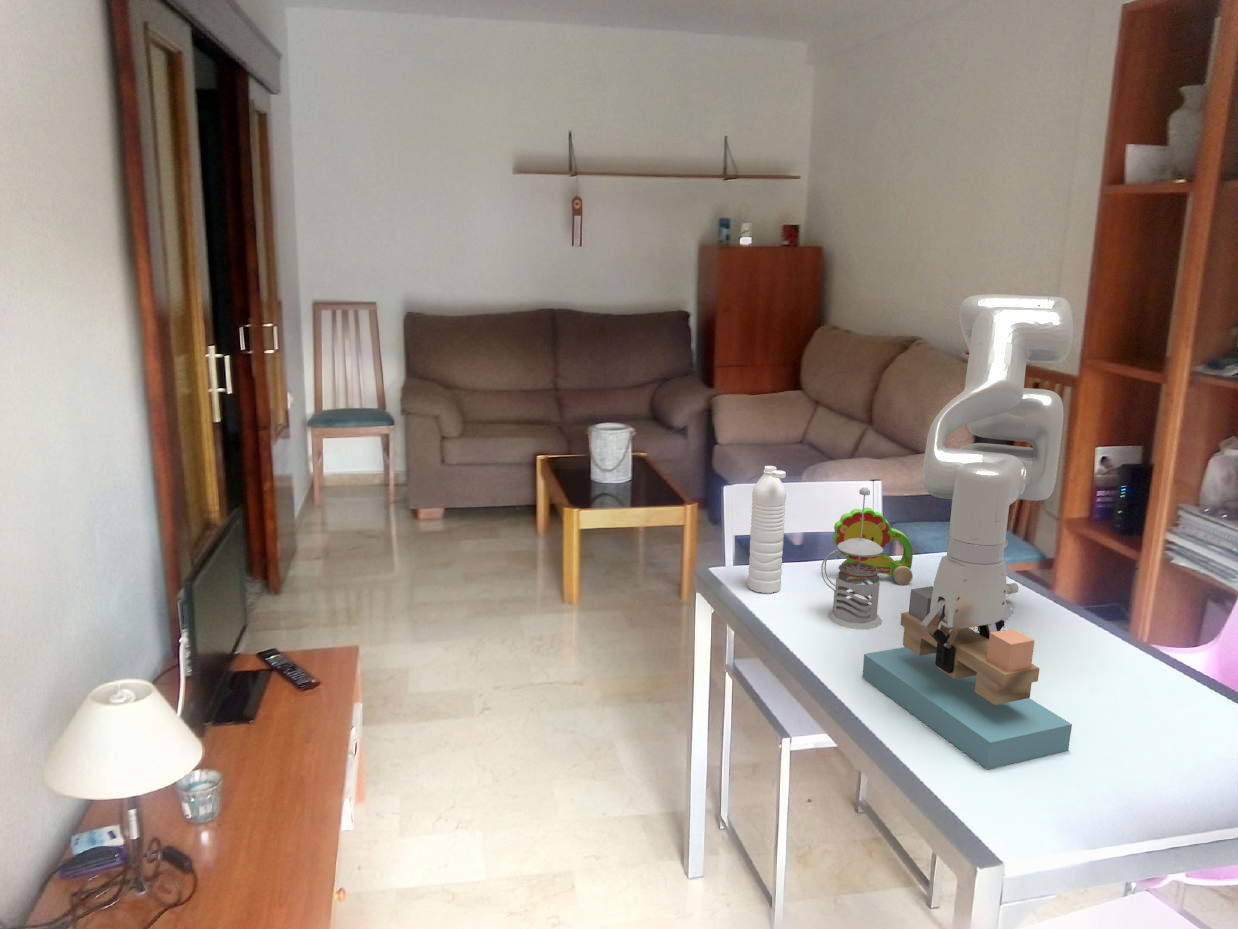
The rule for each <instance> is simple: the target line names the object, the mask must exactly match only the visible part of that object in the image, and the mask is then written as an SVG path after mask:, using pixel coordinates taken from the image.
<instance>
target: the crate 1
mask: <svg viewBox="0 0 1238 929" xmlns="http://www.w3.org/2000/svg"><path fill="white" fill-rule="evenodd" d="M933 586H934V585H930V586H925V587H924V586H923V587H917V588H916V587H915V588H911V589H910V594H909V595H910V596H909V605H908V606H909V607H908V612H909V614H911V615H912V616H914V617H916V618H917V619H919V620H921V621H923V620H924V619H925V618H926V616H927V615H928V614H929V613H930V605H931V598H932V592H933ZM939 621H941V620H939Z"/></svg>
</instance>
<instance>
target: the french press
mask: <svg viewBox="0 0 1238 929" xmlns="http://www.w3.org/2000/svg"><path fill="white" fill-rule="evenodd" d="M858 494H859V495H861V496H863V503H862V509H863V513H862V526H861V538H851V539H848V540H846V541H843V542H841V543H839V544H838V546H837V549H835V550H832V551H831V552H829V554H827V555H826V556H825V558H824V559H823V561H822V563H821V568H820V569H821V578H822V580H823V582H824V583H825V584H826V586H827V587H828V588H830V589H831V590H832V591H833V606H832V610H831V611H829V612H828V615H827V618H828V619H829V621H830V622H832V623H833V624H835V625H837V626H840V627H843V628H846V629H854V630H870V629H875V628H878V627H880V626H881V625H882V623H883V619H882V618H881V617H880V616H879V615H878V608H879V607H878V606H879V605H878V604H879V594H880V585H881V584H880V582H881V579H880V576H879V575H878V574H880V573H879V570H878V569H877V568H876V567H875V566H873V565H870V564H869V565H868V564H865V563H860V557H875V556H879V555H881V554H882V553H884V548H882V547H881V546H880V545H878V544H877V543H875V542H873V541H871V540H868V539H864V538H862V529H863V516H864V508H865V500H866V496H869V495H871V490H870V489H869V488H868V487H861V488H860V489H859V492H858ZM838 548H839V549H838ZM839 551H840V552H839ZM838 552H839V553H838ZM841 552H843V553H845V554H849V555H852V556H859V562H857V563H856V562H855V563H852V562H848V563H843V564H842V563H841V564H839V565H838V570H839V572H838V573H837V574H836V576H835V583H833V582H832V581H831V579H829V577H828V573H827V561H828V560H829V557H830V556H832V555H833V554H836V559H837V560H839V559H841V557H842V554H841ZM823 570H824V572H823ZM824 574H825V577H826V579H827V581H828V582H829V583H830V584H831V585H832V586H834V588H833V587H832V586H830V585H829V584H828V583H827V581H826V579H825V577H824ZM850 576H852V577H860V578H862V579H860V578H854V579H850V580H847V578H848V577H850ZM866 579H867V580H866ZM857 581H858V583H851V582H857ZM868 581H869V582H870V583H869V582H868ZM859 583H861V584H859ZM849 590H850V591H849ZM856 595H858V596H856ZM859 596H861V597H864V598H865V599H864V598H860V597H859ZM848 597H849V598H848ZM870 597H871V598H870ZM869 603H870V604H869Z"/></svg>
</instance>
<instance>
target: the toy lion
mask: <svg viewBox="0 0 1238 929" xmlns="http://www.w3.org/2000/svg"><path fill="white" fill-rule="evenodd" d="M862 513H863V508H861V509H860V508H854V509H851V511H849V512H845V513H843V514H842V515H841V516H840V520H838V521H836V522H835V523H834V527H833V529H834V533H833V536H832V539H833V542H834V545H835V546H837V550H839V548H838V544H839V543H841V542H843V541H846V540H848V539H851V538H861V526H862ZM891 526H892V525H891V524H890V523H889V521H888V520H887V519H886V518H885V517H884V516H883V514H882V513H881V512H878V511H875V510H873V508H871V507H864V516H863V529H862V538H864V539H868V540H871V541H873V542H875V543H877V544H878V545H880V546H881V547H882V548H883V549H884V548H885V547H886V545H887V544H889V543H890V542H892V541H898V542H900V543H901V544H902V546H903V552H902V556H901V559H899V560H898V559H897V560H895V559H893V558H892V557H891V556H889V555H888V554H886V553H885V552H883V553H882V554H881V555H879V556H875V557H860V563H865V564H868V565H869V564H870V565H873V566H875V567H876V568H877V569H878V570H879V573H878V574H880V575H881V574H883V575H888V576H890V577H892V578H893V580H894V581H895V583H896V584H898V585H900V586H902V585H908V584H909V583H911V581H912V579H913V572H912V570H911V568H912V565H913V557H914V556H913V547H912V544H911V541H910V540H909V538H908V537H907V536H906V535H905V533H903V532H902V531H901V530H899V529H896V528H893V527H891ZM838 552H839V553H840V551H838ZM841 556H845V557H846V559H845V560H843V561H842V562H841V564H843V563H848V562H852V563H855V562H856V563H857V562H859V556H852V555H849V554H845V553H843V552H841ZM854 578H860V577H852V576H850V577H848V578H847V580H850V579H854ZM860 579H863V578H860ZM851 583H852V584H859V582H858V581H857V582H851Z"/></svg>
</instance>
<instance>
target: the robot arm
mask: <svg viewBox="0 0 1238 929" xmlns="http://www.w3.org/2000/svg"><path fill="white" fill-rule="evenodd" d="M958 314H959V315H958V316H959V317H958V319H959V326H960V330H961V333H962V336H963V338H964V342H965V344H966V346H967V349H968V359H967V368H966V375H965V385H964V389H963V391H962V392H960V393H959V394H958V395H956V396H955V397H954V398H952V399H951V400H950V401H949V402H948V403H946V405H945V406H944V407H943V408H942V409H941V410H940V411H939V412H938V413H937V415H936V417H935V418H933V419H934V420H933V421H932V423H931V425H930V428H929V430H928V433H927V439H926V445H925V450H924V452H925V453H924V456H923V464H922V465H923V466H922V472H921V473H922V476H921V477H922V478H921V479H922V485H923V488H924V489H925V491H926V492H927V493H928V494H929V495H931V496H933V497H936V498H940V499H949V500H951V512H950V521H949V531H948V540H947V550H946V555H943V556H942V557H941V559H940V562H939V564H938V567H937V570H936V574H935V578H934V582H933V585H932V586H933V592H932V598H931V605H930V613H929V614H928V615H927V616H926V618H925V619H924V620H923V621H922V626H923V627H924V628H925V629H926V630H927V631H928V632H929V634H930V635H931V636H932V637H933V638H934V640H935V641H936V642H937V651H936V660H935V664H936V666H938V667H939V668H941V669H942V670H944V671H945V672H947V673H952V672H953V668H954V658H955V648H954V647H952V645H953V643H954V641H955V638H956V636H957V634H958V631H959V629H965V628H969V629H971V628H977V630H978V632H977V633H978V634H980V635H982V636H984V637H985V638H987V639H989V636H990V633H991V632H997V631H1002V629H1003V628H1004V626H1005V623H1007V621H1008V620H1009V619H1010V618H1011V617H1012V615H1013V614H1014V610H1012V608H1011V607H1010V606H1009V605H1008V603H1007V602H1006V600H1007V595H1011V594H1016V593H1019V591H1020V590H1019V589H1020V588H1019V585H1018V584H1017V583H1016V582H1011V583H1007V567H1006V566H1007V565H1006V559H1005V558H1004V555H1005V554H1004V553H1005V548H1007V547H1008V545H1009V541H1008V539H1007V538H1006V537H1007V530H1008V529H1007V528H1008V522H1009V511H1010V505H1012V504H1013V503H1015V502H1016V501H1017V500H1022V501H1023V500H1026V501H1037V502H1038V501H1044V500H1047V499H1049V498H1050V497H1051V495H1053V494H1052V493H1053V492H1054V489H1055V485H1056V480H1057V474H1058V467H1059V459H1060V452H1061V441H1062V437H1063V436H1062V434H1063V428H1064V427H1063V426H1064V404H1063V400H1062V398H1061V396H1060V395H1059V394H1058V393H1056V392H1055V391H1053V390H1049V389H1043V388H1028V387H1025V378H1026V368H1027V362H1030V363H1031V362H1032V363H1048V364H1049V363H1051V364H1052V363H1053V364H1055V363H1061V362H1062V361H1064V360H1065V359H1067V357H1068V355H1069V353H1070V351H1071V347H1072V345H1073V338H1074V337H1073V336H1074V319H1073V312H1072V307H1071V304H1070V303H1069V301H1068V299H1066V298H1064V297H1060V296H1059V297H1058V296H1049V295H1048V296H1047V295H1046V296H1043V295H1020V294H1019V295H1018V294H1001V293H1000V294H997V293H994V294H993V293H991V294H990V293H988V294H976V295H971V296H969V297H967V298H965V299H964V300H963V301H962V302H961V304H960V307H959V312H958ZM965 426H967V428H968V431H969V433H971V434H972V435H974V436H977V437H980V438H984V439H993V440H1001V441H1002V440H1003V441H1013V442H1014V441H1015V442H1023V443H1024V442H1025V443H1029V444H1030V445H1031V446H1032V447H1029V446H1019V445H1018V446H1017V445H1009V444H1000V443H999V444H998V443H997V444H996V443H987V442H986V443H984V442H975V443H968V444H965V445H963V446H961V447H960V448H950V447H948V448H947V447H946V444H947V440H948V439H949V437H950V436H951V435H952V434H953V433H954V432H956V431H957V430H959V429H961V428H962V427H965ZM939 620H941V621H940V623H939V625H938V627H937V623H938V622H939ZM947 628H948V629H950V630H949V632H948V634H947V636H946V635H945V632H946V629H947Z"/></svg>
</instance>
